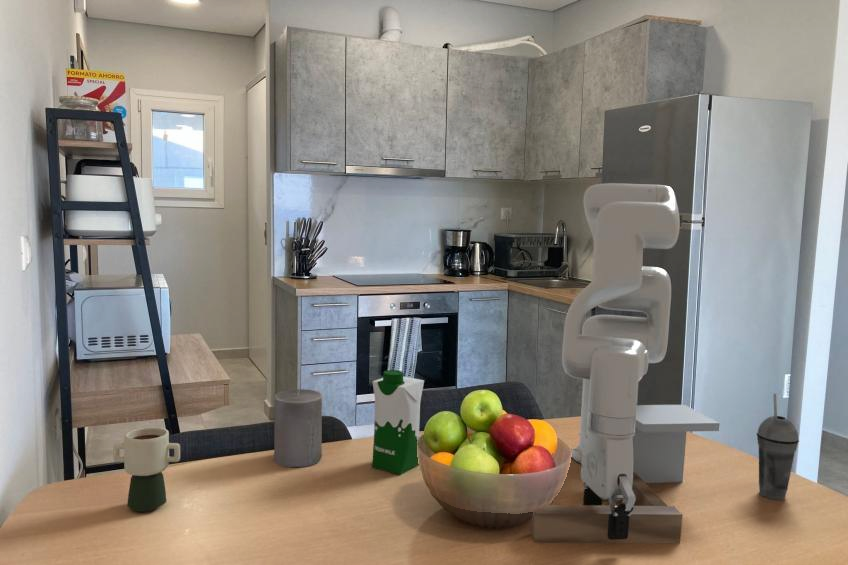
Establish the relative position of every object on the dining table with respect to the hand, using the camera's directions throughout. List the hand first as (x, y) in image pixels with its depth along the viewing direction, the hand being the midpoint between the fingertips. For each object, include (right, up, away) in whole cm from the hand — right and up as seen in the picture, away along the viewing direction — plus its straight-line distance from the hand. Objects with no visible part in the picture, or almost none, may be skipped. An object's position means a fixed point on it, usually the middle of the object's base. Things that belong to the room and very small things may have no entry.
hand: (604, 524), depth 112 cm
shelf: (+16, -1, +20) cm, 26 cm away
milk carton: (-35, +2, +29) cm, 45 cm away
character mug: (-77, +1, +5) cm, 77 cm away
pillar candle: (-56, +3, +30) cm, 63 cm away
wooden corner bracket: (0, -2, +9) cm, 9 cm away
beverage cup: (+38, -2, +21) cm, 43 cm away
